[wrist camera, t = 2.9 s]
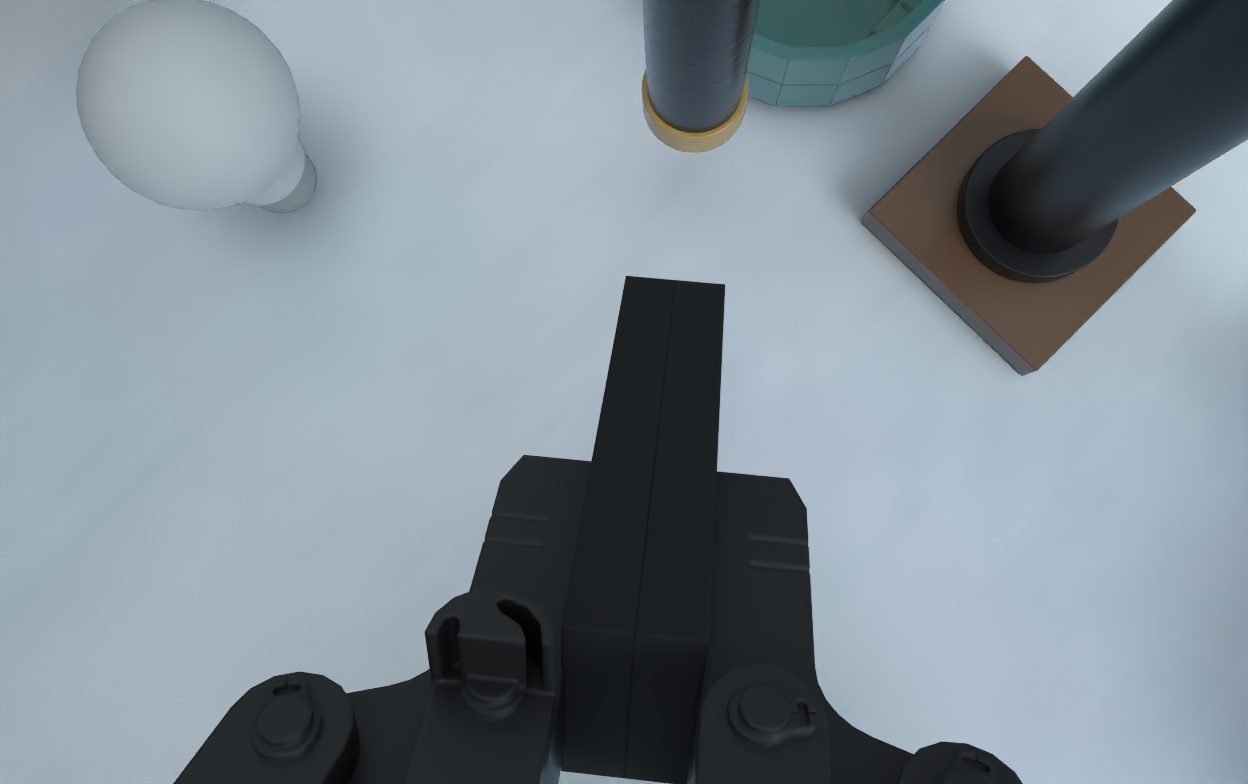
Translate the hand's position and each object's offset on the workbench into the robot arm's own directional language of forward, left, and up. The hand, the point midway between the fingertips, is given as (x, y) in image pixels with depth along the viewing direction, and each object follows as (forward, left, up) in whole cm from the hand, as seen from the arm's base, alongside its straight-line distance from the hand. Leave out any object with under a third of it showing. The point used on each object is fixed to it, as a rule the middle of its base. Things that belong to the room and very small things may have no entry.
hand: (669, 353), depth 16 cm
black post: (+3, +14, -21) cm, 25 cm away
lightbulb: (-17, -4, -21) cm, 27 cm away
